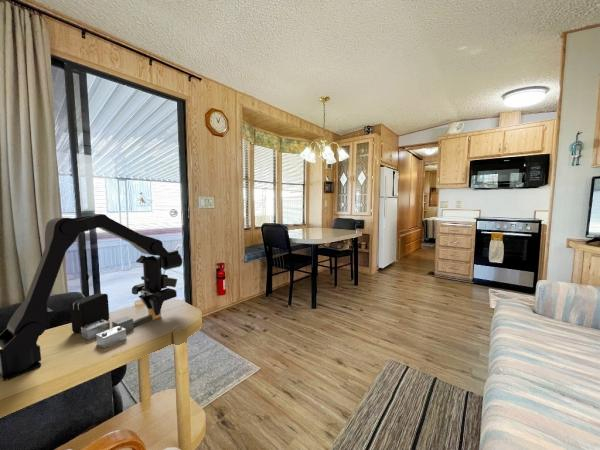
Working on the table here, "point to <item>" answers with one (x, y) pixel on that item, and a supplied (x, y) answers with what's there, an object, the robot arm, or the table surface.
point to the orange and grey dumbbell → (129, 323)
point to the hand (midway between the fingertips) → (155, 314)
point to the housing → (103, 333)
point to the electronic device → (89, 311)
